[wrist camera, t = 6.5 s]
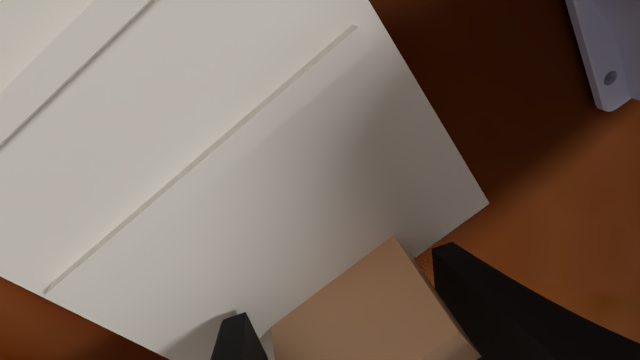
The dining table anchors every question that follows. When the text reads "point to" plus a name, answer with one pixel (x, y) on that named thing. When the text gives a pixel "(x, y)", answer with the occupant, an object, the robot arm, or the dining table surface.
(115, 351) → the dining table surface
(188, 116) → the lid
